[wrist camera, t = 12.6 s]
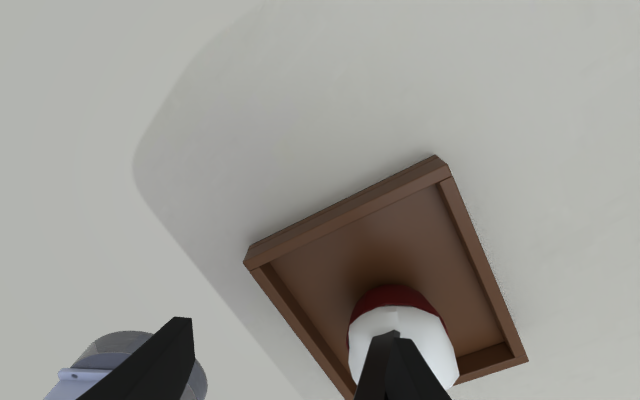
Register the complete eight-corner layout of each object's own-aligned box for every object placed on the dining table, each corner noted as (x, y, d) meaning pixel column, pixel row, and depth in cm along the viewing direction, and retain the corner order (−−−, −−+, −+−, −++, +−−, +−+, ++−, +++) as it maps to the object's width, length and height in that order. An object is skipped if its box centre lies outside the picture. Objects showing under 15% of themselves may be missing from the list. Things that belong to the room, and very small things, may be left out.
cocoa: (433, 352, 23) (512, 598, 12) (350, 353, 24) (351, 586, 13) (436, 239, 20) (548, 429, 9) (340, 244, 21) (331, 425, 10)
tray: (249, 245, 22) (241, 262, 20) (435, 154, 19) (447, 163, 17) (356, 392, 27) (358, 417, 25) (513, 338, 24) (529, 361, 22)
